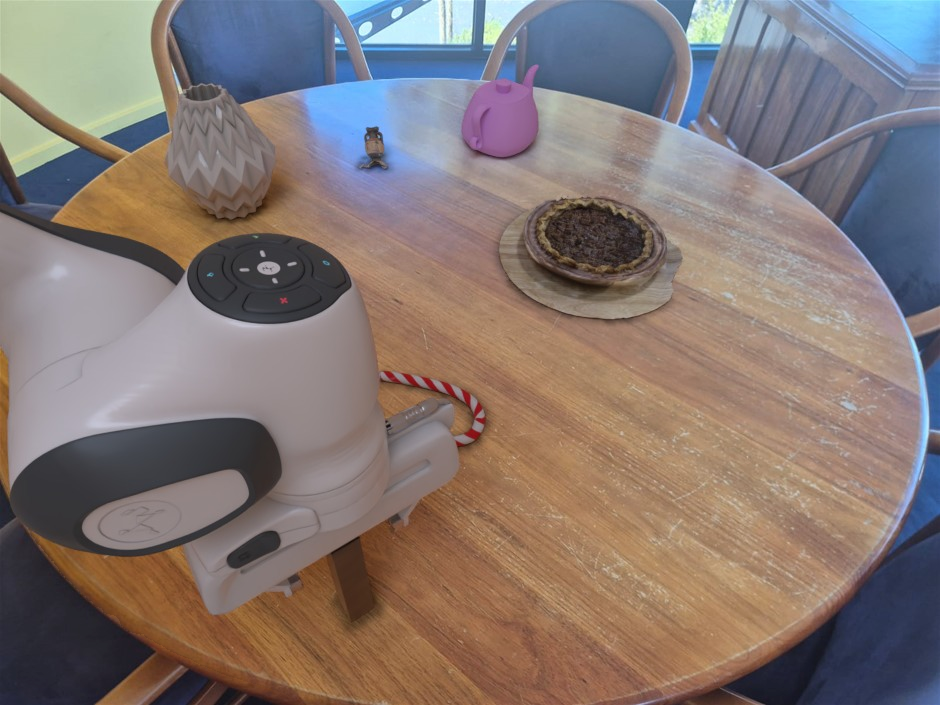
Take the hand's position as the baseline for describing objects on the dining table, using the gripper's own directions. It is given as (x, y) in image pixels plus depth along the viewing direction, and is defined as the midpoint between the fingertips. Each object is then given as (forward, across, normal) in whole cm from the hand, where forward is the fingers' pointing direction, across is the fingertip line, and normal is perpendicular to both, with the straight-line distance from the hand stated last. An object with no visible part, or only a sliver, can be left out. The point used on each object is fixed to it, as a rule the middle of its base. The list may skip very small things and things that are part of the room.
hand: (346, 552), depth 50 cm
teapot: (+11, -64, -62) cm, 90 cm away
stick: (+10, 0, 0) cm, 11 cm away
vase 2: (+11, -40, -68) cm, 79 cm away
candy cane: (+11, -18, -16) cm, 26 cm away
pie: (+11, -54, -27) cm, 61 cm away
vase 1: (+11, -14, -68) cm, 70 cm away
